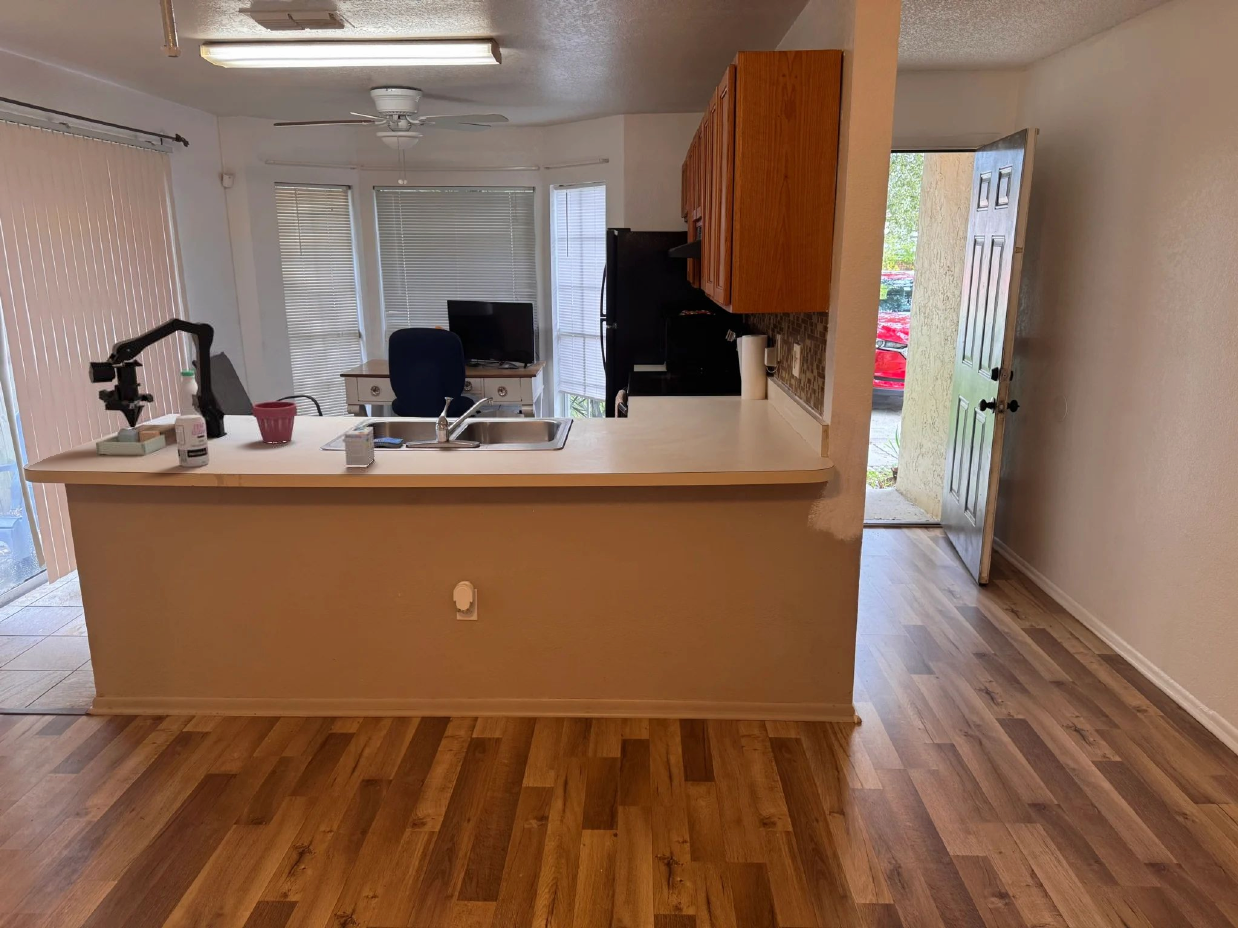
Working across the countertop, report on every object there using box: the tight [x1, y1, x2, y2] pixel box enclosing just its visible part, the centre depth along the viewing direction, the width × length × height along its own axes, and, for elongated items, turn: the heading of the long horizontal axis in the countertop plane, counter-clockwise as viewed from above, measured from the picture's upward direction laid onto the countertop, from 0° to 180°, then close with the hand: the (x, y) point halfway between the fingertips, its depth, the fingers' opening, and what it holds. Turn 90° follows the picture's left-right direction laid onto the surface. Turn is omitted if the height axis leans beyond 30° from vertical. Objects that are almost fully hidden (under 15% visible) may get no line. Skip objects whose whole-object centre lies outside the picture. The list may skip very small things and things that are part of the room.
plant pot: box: [252, 400, 298, 444], centre depth 291 cm, size 14×14×13 cm
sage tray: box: [95, 434, 167, 457], centre depth 275 cm, size 15×13×4 cm
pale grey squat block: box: [116, 427, 140, 443], centre depth 277 cm, size 5×5×3 cm
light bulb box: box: [344, 426, 375, 466], centre depth 261 cm, size 11×7×11 cm, turn 4°
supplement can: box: [174, 414, 210, 468], centre depth 257 cm, size 8×8×15 cm
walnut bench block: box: [130, 424, 177, 447], centre depth 287 cm, size 13×12×5 cm
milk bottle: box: [178, 370, 200, 416], centre depth 318 cm, size 8×8×20 cm
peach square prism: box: [139, 431, 160, 443], centre depth 279 cm, size 5×5×3 cm
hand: (132, 427), depth 281 cm, fingers closed
